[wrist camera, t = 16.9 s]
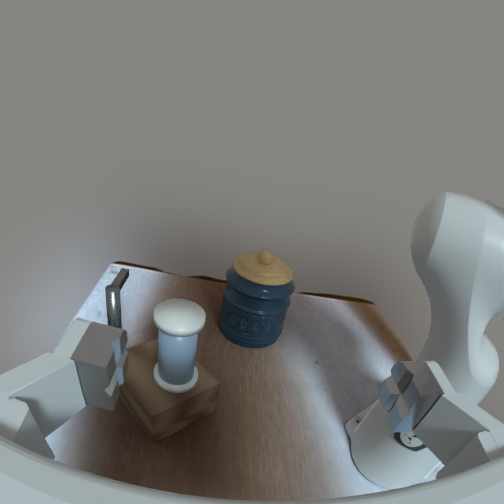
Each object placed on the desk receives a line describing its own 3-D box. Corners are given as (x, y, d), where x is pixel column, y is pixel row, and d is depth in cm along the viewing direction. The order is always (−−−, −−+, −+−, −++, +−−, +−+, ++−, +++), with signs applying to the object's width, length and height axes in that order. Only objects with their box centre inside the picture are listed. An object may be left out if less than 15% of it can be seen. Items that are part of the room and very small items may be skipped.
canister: (258, 359, 57) (280, 277, 49) (204, 326, 62) (216, 246, 55) (291, 329, 67) (314, 255, 60) (242, 302, 73) (257, 231, 66)
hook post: (133, 338, 45) (132, 269, 40) (122, 365, 40) (117, 293, 35) (122, 336, 45) (119, 267, 40) (110, 362, 39) (103, 290, 35)
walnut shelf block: (169, 364, 51) (170, 333, 48) (214, 411, 44) (220, 382, 41) (112, 386, 43) (108, 356, 40) (154, 443, 36) (152, 416, 33)
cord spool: (180, 356, 44) (185, 293, 40) (206, 382, 41) (216, 319, 36) (145, 370, 40) (144, 306, 35) (170, 400, 36) (172, 336, 32)
